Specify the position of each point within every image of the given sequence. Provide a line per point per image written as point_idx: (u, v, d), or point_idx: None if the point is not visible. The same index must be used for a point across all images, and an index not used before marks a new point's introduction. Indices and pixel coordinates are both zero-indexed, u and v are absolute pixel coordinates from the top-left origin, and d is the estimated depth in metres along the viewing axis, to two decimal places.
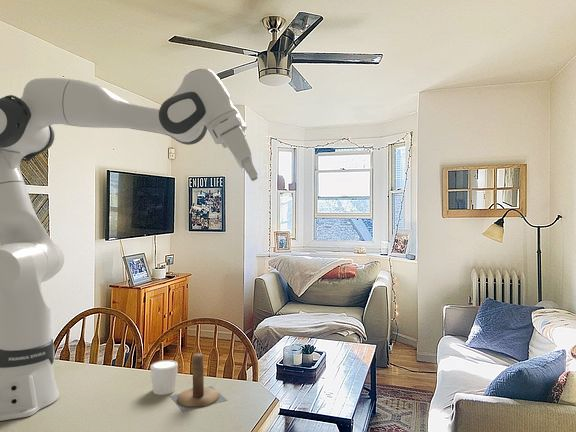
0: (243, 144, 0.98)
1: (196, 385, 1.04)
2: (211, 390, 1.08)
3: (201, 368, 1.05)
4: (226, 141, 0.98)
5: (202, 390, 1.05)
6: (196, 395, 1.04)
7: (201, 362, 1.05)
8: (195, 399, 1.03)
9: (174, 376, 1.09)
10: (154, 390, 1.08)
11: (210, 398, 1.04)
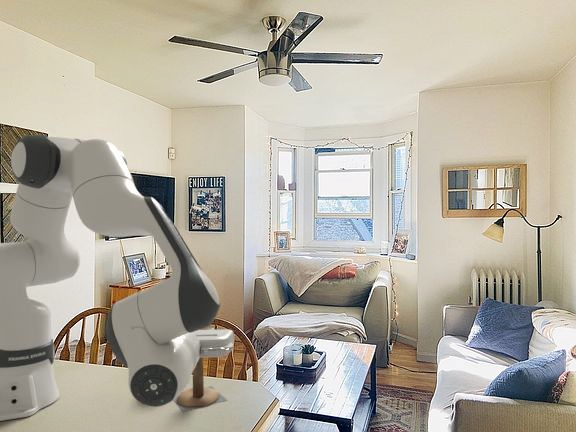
0: None
1: (196, 385, 1.04)
2: (211, 390, 1.08)
3: (201, 368, 1.05)
4: None
5: (202, 390, 1.05)
6: (196, 395, 1.04)
7: (201, 362, 1.05)
8: (195, 399, 1.03)
9: None
10: None
11: (210, 398, 1.04)
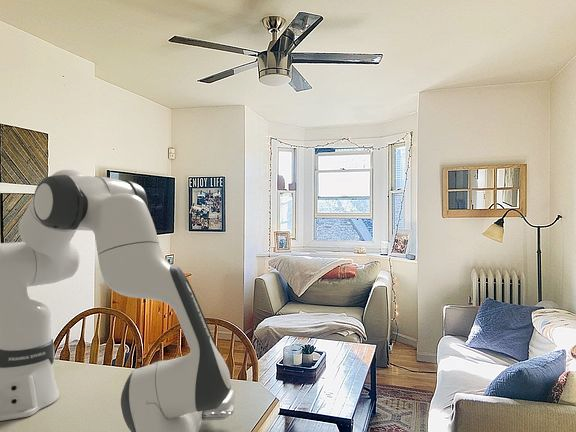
0: None
1: None
2: None
3: None
4: None
5: None
6: None
7: None
8: None
9: None
10: None
11: None
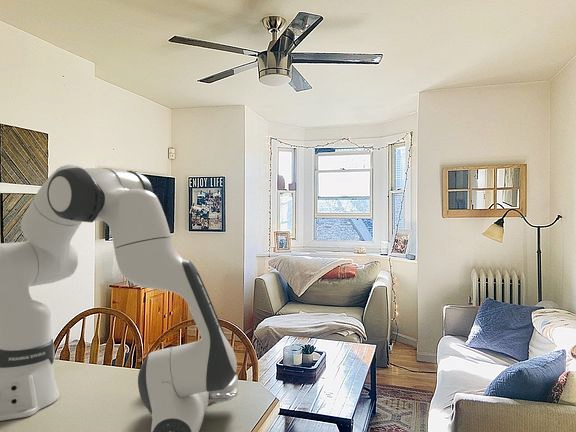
0: None
1: None
2: None
3: None
4: None
5: None
6: None
7: None
8: None
9: None
10: None
11: None
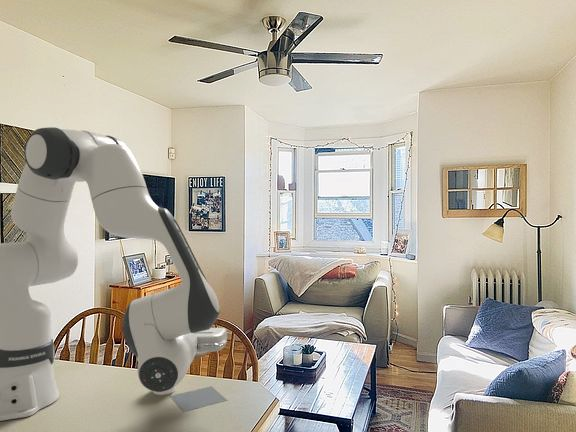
0: None
1: None
2: None
3: None
4: None
5: None
6: None
7: None
8: None
9: None
10: None
11: (200, 352, 1.05)
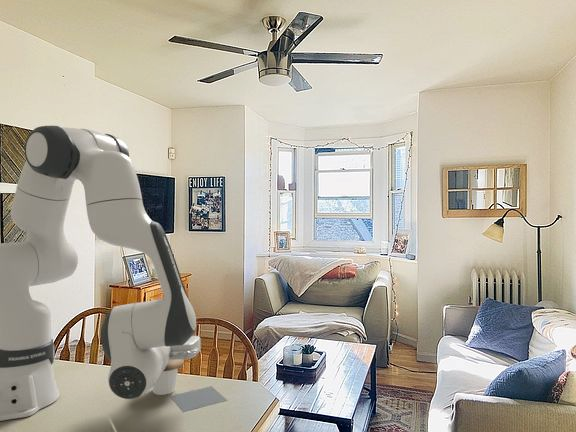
0: None
1: None
2: None
3: None
4: None
5: None
6: None
7: None
8: None
9: (174, 376, 1.09)
10: (154, 390, 1.08)
11: (175, 364, 1.09)
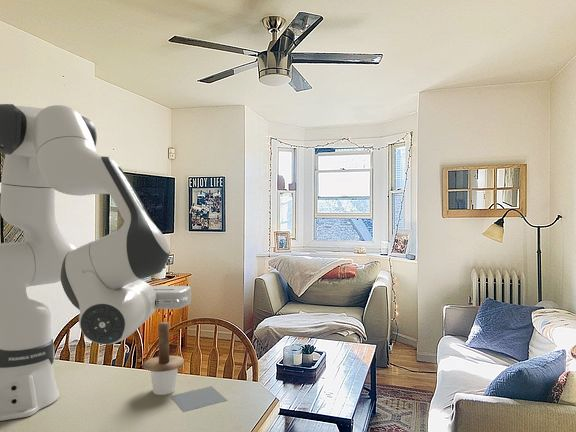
0: None
1: (162, 351, 1.09)
2: (177, 358, 1.13)
3: (166, 335, 1.10)
4: None
5: (167, 356, 1.10)
6: (161, 361, 1.09)
7: (166, 330, 1.10)
8: (160, 365, 1.08)
9: (174, 376, 1.09)
10: (154, 390, 1.08)
11: (175, 364, 1.09)
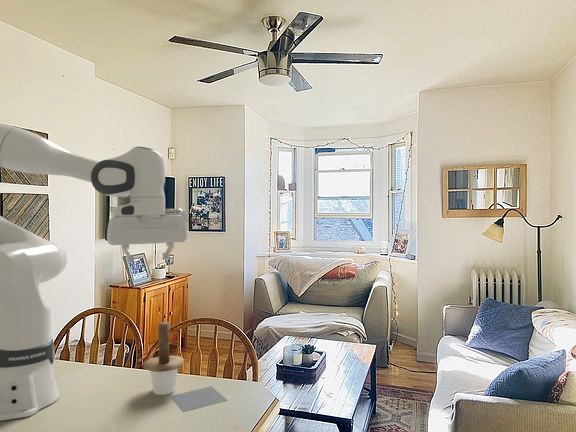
0: (109, 234, 1.08)
1: (162, 352, 1.09)
2: (177, 358, 1.13)
3: (166, 335, 1.10)
4: (108, 224, 1.11)
5: (167, 356, 1.10)
6: (161, 361, 1.09)
7: (166, 330, 1.10)
8: (160, 365, 1.08)
9: (174, 376, 1.09)
10: (154, 390, 1.08)
11: (175, 364, 1.09)
